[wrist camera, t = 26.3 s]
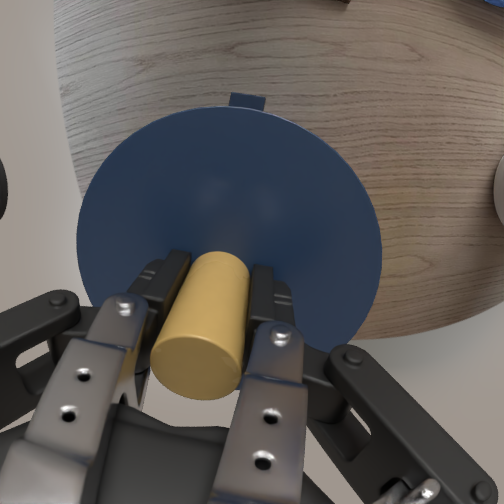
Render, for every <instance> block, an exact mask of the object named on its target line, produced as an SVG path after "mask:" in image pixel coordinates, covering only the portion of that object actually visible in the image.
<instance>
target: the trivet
mask: <svg viewBox="0 0 504 504" xmlns="http://www.w3.org/2000/svg"><path fill="white" fill-rule="evenodd" d="M337 1H341V2H344V3H348V4H349V3H350V1H351V0H337Z"/></svg>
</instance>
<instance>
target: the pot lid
mask: <svg viewBox="0 0 504 504" xmlns="http://www.w3.org/2000/svg"><path fill="white" fill-rule="evenodd" d="M172 249H175V250H181V251H186V252H191V267H190V270H189V272H188V274H187V276H186V278H185V280H184V282H183V284H182V286H181V288H180V290H179V292H178V295H177V297H176V299H175V301H174V303H173V305H172V307H171V309H170V311H169V313H168V316H167V318H166V320H165V322H164V324H163V326H162V328H161V331H160V333H159V335H158V337H157V339H156V341H155V344H154V346H153V348H152V350H151V353H150V366H151V369H152V371H153V373H154V375H155V377H156V378H157V379H158V380H159V382H160V383H162V384H163V385H164V386H165V387H166V388H167V389H169V390H171V391H172V392H174V393H176V394H178V395H181V396H183V397H187V398H190V399H196V400H215V399H219V398H222V397H225V396H227V395H229V394H230V393H232V392H233V391H234V390H241V386H242V382H243V379H244V375H245V374H242V368H243V358H244V347H245V334H246V323H247V313H248V302H249V292H250V281H251V275H252V270H253V266H254V264H259V265H264V266H270V267H273V279H274V280H277V281H283V282H285V283H286V284H287V286H288V287H289V288H290V289H291V295H292V303H293V305H292V306H293V310H294V318H295V325H296V327H297V328H298V329H299V330H300V331H301V332H302V334H303V336H304V342H305V343H306V344H307V345H309V346H311V347H313V348H315V349H318V350H321V351H323V352H326V353H329V354H330V352H331V350H332V349H333V348H334V347H335V346H337V345H341V344H347V343H348V342H349V341H350V340H351V339H352V337H353V336H354V335H355V334H356V332H357V331H358V329H359V328H360V326H361V325H362V323H363V322H364V320H365V319H366V317H367V315H368V313H369V310H370V308H371V306H372V304H373V302H374V299H375V295H376V292H377V289H378V286H379V280H380V275H381V269H382V243H381V235H380V228H379V224H378V221H377V217H376V214H375V210H374V207H373V205H372V203H371V201H370V198H369V196H368V194H367V192H366V190H365V188H364V186H363V185H362V183H361V182H360V180H359V179H358V177H357V176H356V174H355V173H354V171H353V170H352V168H351V167H350V166H349V165H348V164H347V163H346V162H345V160H344V159H343V158H342V157H341V156H340V155H339V154H338V153H337V152H336V151H335V150H334V149H333V148H332V147H330V146H329V145H328V144H327V143H325V142H324V141H323V140H322V139H321V138H319V137H318V136H317V135H315V134H313V133H312V132H310V131H308V130H307V129H305V128H303V127H301V126H300V125H298V124H296V123H294V122H292V121H289V120H287V119H284V118H282V117H279V116H277V115H274V114H271V113H267V112H263V111H259V110H255V109H250V108H243V107H231V106H213V107H199V108H194V109H189V110H185V111H181V112H176V113H173V114H171V115H168V116H165V117H163V118H160V119H158V120H156V121H153V122H151V123H150V124H148V125H146V126H144V127H143V128H141V129H139V130H138V131H136V132H134V133H133V134H132V135H130V136H129V137H128V138H127V139H126V140H124V141H123V142H122V143H121V144H120V145H118V146H117V147H116V148H115V149H114V150H113V152H112V153H111V154H110V155H109V156H108V157H107V158H106V159H105V161H104V162H103V163H102V165H101V166H100V168H99V169H98V171H97V172H96V174H95V175H94V177H93V179H92V181H91V183H90V185H89V187H88V189H87V192H86V194H85V196H84V199H83V202H82V206H81V209H80V213H79V219H78V226H77V258H78V265H79V270H80V274H81V278H82V281H83V285H84V287H85V290H86V292H87V295H88V297H89V300H90V302H91V304H92V305H93V307H101V306H102V304H103V303H104V301H105V300H106V299H107V298H108V297H109V296H111V295H113V294H116V293H123V292H126V291H127V290H128V289H129V287H130V286H131V285H132V283H133V282H134V281H135V279H136V278H137V277H138V275H139V274H140V273H141V271H142V270H143V269H144V267H145V266H146V265H147V264H148V263H150V262H151V261H153V260H155V259H162V260H165V259H166V257H167V256H168V254H169V253H170V251H171V250H172Z"/></svg>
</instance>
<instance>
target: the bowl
mask: <svg viewBox="0 0 504 504" xmlns="http://www.w3.org/2000/svg"><path fill="white" fill-rule="evenodd" d="M484 1H486V2H488V3H490V4H492V5H495V6H498V7H504V0H484Z"/></svg>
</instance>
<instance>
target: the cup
mask: <svg viewBox="0 0 504 504" xmlns="http://www.w3.org/2000/svg"><path fill="white" fill-rule="evenodd" d="M494 203H495V208H496V211H497V214H498V217H499V219H500V221H501V222H502V224H503V225H504V155H503V157H502V159H501V160H500V162H499V165H498V167H497V170H496V174H495V179H494Z"/></svg>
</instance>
